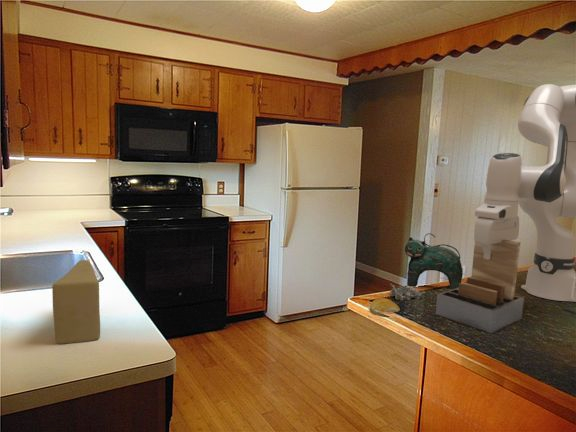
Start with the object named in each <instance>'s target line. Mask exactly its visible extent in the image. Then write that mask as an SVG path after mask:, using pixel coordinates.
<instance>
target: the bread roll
mask: <svg viewBox="0 0 576 432" xmlns="http://www.w3.org/2000/svg"><path fill="white" fill-rule="evenodd" d="M369 310H370V312H371V313H373V314H374V315H377V316H379V317H383V318H390V316H389V315H386V314H384V313H396V312H397V313H398V312H400V311H401V309H400V306H398V304H397V303H395V302H394V301H392V300H391V299H389V298H385V297H378V298H375V299H374V300H373V301H371V302H370V304H369ZM383 312H384V313H383Z"/></svg>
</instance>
